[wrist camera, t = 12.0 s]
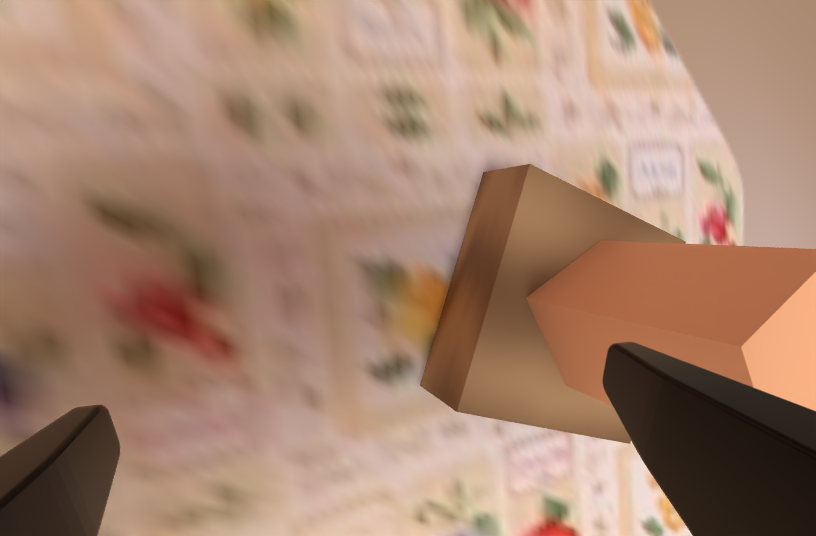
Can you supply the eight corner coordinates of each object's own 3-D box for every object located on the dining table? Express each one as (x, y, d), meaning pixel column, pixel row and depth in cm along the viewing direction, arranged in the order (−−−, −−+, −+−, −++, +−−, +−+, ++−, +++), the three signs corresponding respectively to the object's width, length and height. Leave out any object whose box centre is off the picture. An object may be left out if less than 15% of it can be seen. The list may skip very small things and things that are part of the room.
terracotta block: (566, 385, 22) (783, 481, 14) (525, 298, 21) (741, 347, 12) (634, 325, 24) (866, 380, 15) (601, 240, 22) (836, 250, 14)
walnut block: (573, 415, 28) (630, 443, 24) (415, 382, 23) (456, 411, 20) (622, 239, 28) (685, 241, 25) (478, 173, 24) (529, 164, 20)
